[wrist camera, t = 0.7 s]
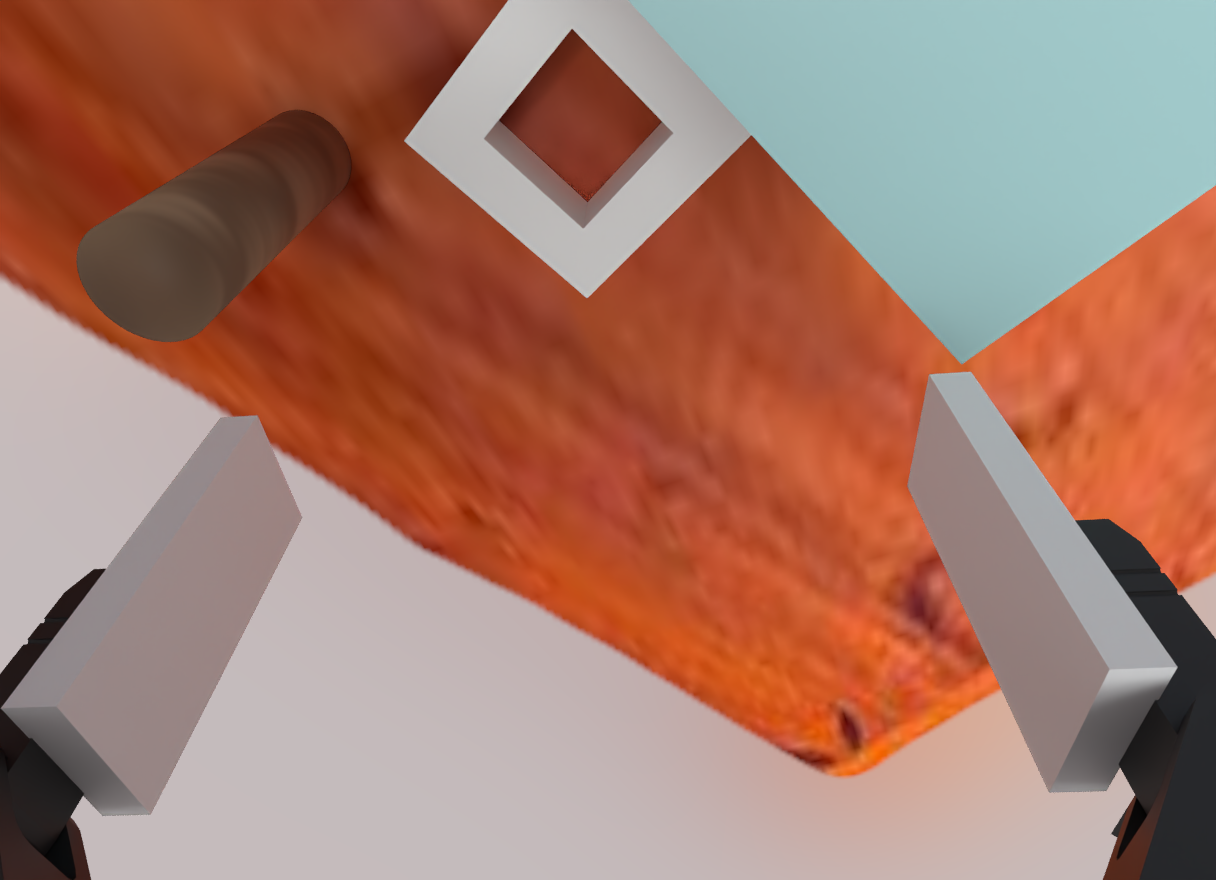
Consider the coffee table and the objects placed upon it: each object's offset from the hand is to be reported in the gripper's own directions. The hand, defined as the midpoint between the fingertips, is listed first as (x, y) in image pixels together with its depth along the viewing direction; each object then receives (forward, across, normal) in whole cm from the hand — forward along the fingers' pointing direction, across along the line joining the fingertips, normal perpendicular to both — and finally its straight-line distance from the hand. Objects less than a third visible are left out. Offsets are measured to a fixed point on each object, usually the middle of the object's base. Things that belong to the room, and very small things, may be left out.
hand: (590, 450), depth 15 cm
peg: (+23, -14, 0) cm, 27 cm away
